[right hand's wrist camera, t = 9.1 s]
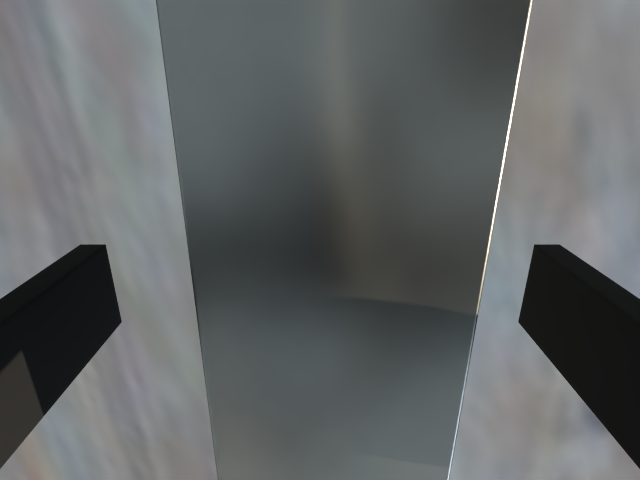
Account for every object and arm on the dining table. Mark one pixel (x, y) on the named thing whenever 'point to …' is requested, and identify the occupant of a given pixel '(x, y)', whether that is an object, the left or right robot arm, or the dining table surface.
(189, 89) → the bar
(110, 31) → the dining table surface
